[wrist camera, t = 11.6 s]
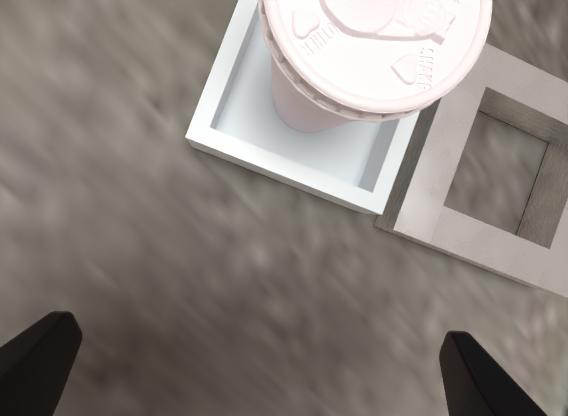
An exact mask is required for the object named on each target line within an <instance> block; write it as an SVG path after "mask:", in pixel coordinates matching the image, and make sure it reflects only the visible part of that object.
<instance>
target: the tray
mask: <svg viewBox="0 0 568 416" xmlns="http://www.w3.org/2000/svg"><path fill="white" fill-rule="evenodd" d="M419 113H420V111H418V112H416V113H414V114H412V115H410V116H408V117H406V118H401V119H395V120H390V121H384V122H378V123H376V122H366V121H352V122H349V123H345V124H342V125H338V126H335V127H331V128H328V129H325V130H321V131H318V132H312V133H305V132H300V131H297V130H294V129H292V128H291V127H289V126H288V125H286V124H285V123H284V122H283V121H282V120H281V118H280V117H279V116H278V114H277V112H276V110H275V107H274V103H273V92H272V69H271V53H270V51H269V49H268V47H267V44H266V42H265V40H264V37H263V32H262V27H261V22H260V16H259V11H258V0H239V1H238V3H237V6H236V8H235V11H234V13H233V16H232V18H231V21H230V24H229V26H228V29H227V31H226V34H225V36H224V39H223V42H222V44H221V47H220V49H219V52H218V54H217V57H216V60H215V62H214V65H213V67H212V70H211V72H210V75H209V78H208V80H207V83H206V85H205V88H204V90H203V93H202V95H201V98H200V101H199V103H198V106H197V108H196V111H195V113H194V116H193V119H192V121H191V124H190V126H189V129H188V131H187V134H186V137H185V138H186V139H187V140H188V142H189V143H190V144H191V146H192V147H193V148H196V149H198V150H201V151H203V152H206V153H208V154H211V155H213V156H216V157H219V158H221V159H224V160H226V161H229V162H231V163H234V164H236V165H239V166H241V167H244V168H247V169H249V170H252V171H254V172H257V173H259V174H262V175H264V176H267V177H270V178H272V179H275V180H277V181H280V182H282V183H285V184H287V185H290V186H292V187H295V188H298V189H300V190H303V191H305V192H308V193H310V194H313V195H315V196H318V197H320V198H323V199H326V200H328V201H331V202H333V203H336V204H338V205H341V206H343V207H346V208H348V209H351V210H354V211H356V212H359V213H365V214H377V215H382V213H383V211H384V208H385V205H386V203H387V200H388V197H389V194H390V192H391V189H392V186H393V184H394V181H395V178H396V175H397V173H398V170H399V167H400V165H401V162H402V159H403V156H404V154H405V151H406V148H407V145H408V143H409V140H410V137H411V135H412V132H413V129H414V126H415V124H416V121H417V118H418V116H419Z"/></svg>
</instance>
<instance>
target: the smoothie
mask: <svg viewBox="0 0 568 416" xmlns="http://www.w3.org/2000/svg"><path fill="white" fill-rule="evenodd" d="M258 11H259V16H260V22H261V27H262V32H263V37H264V40H265V42H266V44H267V47H268V49H269V51H270V53H271V69H272V92H273V103H274V107H275V110H276V112H277V114H278V116H279V117H280V118H281V120H282V121H283V122H284V123H285V124H286V125H288V126H289V127H291V128H292V129H294V130H297V131H300V132H305V133H312V132H318V131H321V130H325V129H328V128H331V127H335V126H338V125H342V124H345V123H349V122H352V121H366V122H376V123H378V122H384V121H390V120H395V119H401V118H406V117H408V116H410V115H412V114H414V113H416V112H418V111H420V110H422V109H424V108H426V107H428V106H430V105H431V104H432V103H433V102H434V101H436V100H437V99H439V98H440V97H442V96H444V95H445V94H447V93H448V92H449V91H450V90H452V89H453V88H454V87H455V86H456V85H457V84H458V83H459V82H460V81H461V80H462V79H463V78H464V77H465V76H466V75H467V73H468V72H469V71H470V70H471V68H472V67H473V65H474V64H475V62H476V60H477V58H478V56H479V55H480V53H481V51H482V48H483V46H484V43H485V41H486V37H487V34H488V31H489V26H490V21H491V13H492V0H258Z"/></svg>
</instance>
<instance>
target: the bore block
mask: <svg viewBox="0 0 568 416" xmlns="http://www.w3.org/2000/svg"><path fill="white" fill-rule="evenodd" d="M477 110H479V111H481V112H483V113H485V114H488V115H490V116H492V117H494V118H496V119H499V120H501V121H503V122H505V123H507V124H509V125H512V126H514V127H516V128H518V129H520V130H523V131H525V132H527V133H529V134H531V135H534V136H536V137H538V138H540V139H542V140H544V141H547V142H549V144H548V147H547V150H546V153H545V156H544V158H543V161H542V164H541V167H540V170H539V172H538V175H537V178H536V181H535V184H534V187H533V189H532V192H531V195H530V198H529V201H528V204H527V206H526V209H525V212H524V215H523V218H522V220H521V223H520V226H519V229H518V232H517V235H513V234H511V233H508V232H506V231H503V230H501V229H499V228H496V227H494V226H491V225H489V224H486V223H484V222H481V221H479V220H477V219H474V218H472V217H469V216H467V215H464V214H462V213H459V212H457V211H455V210H452V209H450V208H447V207H445V206H443V204H444V201H445V198H446V196H447V193H448V190H449V187H450V185H451V182H452V179H453V176H454V173H455V171H456V168H457V165H458V162H459V160H460V157H461V154H462V151H463V149H464V146H465V143H466V140H467V138H468V135H469V132H470V129H471V127H472V124H473V121H474V118H475V116H476V113H477ZM374 226H375V227H377V228H380V229H382V230H385V231H387V232H390V233H393V234H395V235H398V236H400V237H403V238H405V239H408V240H411V241H413V242H416V243H418V244H421V245H423V246H426V247H429V248H431V249H434V250H436V251H439V252H441V253H444V254H447V255H449V256H452V257H454V258H457V259H459V260H462V261H465V262H467V263H470V264H472V265H475V266H477V267H480V268H483V269H485V270H488V271H490V272H493V273H495V274H498V275H501V276H503V277H506V278H508V279H511V280H513V281H516V282H518V283H521V284H524V285H526V286H529V287H532V288H535V289H539V290H542V291H546V292H549V293H553V294H556V295H559V296H563V297H566V298H568V83H567V82H565V81H563V80H561V79H559V78H557V77H555V76H553V75H551V74H548V73H546V72H544V71H542V70H540V69H538V68H536V67H534V66H532V65H530V64H528V63H526V62H524V61H522V60H520V59H518V58H516V57H514V56H512V55H510V54H507V53H505V52H503V51H501V50H499V49H497V48H495V47H493V46H491V45H489V44H487V43H484V46H483V48H482V51H481V53H480V55H479V56H478V58H477V60H476V62H475V64H474V65H473V67H472V68H471V70H470V71H469V72H468V73H467V75H466V76H465V77H464V78H463V79H462V80H461V81H460V82H459V83H458V84H457V85H456V86H455V87H454V88H453V89H452V90H450V91H449V92H448V93H447V94H445V95H444V96H442V97H440V98H439V99H437V100H436V101H434V102H433V103H432V104H431V105H430V106H428V107H426V108H424V109H422V110H420V113H419V116H418V118H417V121H416V124H415V126H414V129H413V132H412V135H411V137H410V140H409V143H408V145H407V148H406V151H405V154H404V156H403V159H402V162H401V165H400V167H399V170H398V173H397V175H396V178H395V181H394V184H393V186H392V189H391V192H390V194H389V197H388V200H387V203H386V205H385V208H384V211H383V213H382V215H378V216H377V218H376V221H375V224H374Z"/></svg>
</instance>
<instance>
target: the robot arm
mask: <svg viewBox="0 0 568 416" xmlns="http://www.w3.org/2000/svg"><path fill="white" fill-rule="evenodd" d="M81 341H82V331H81V329H80V327H79V325H78V323H77V321H76V319H75V317H74V315H73V314H72V313H71V312H68V311H53V312H51V313H49V314H48V315H46V316H45V317H43V318H42V319H40V320H39V321H37V322H36V323H35V324H33V325H32V326H30V327H29V328H27V329H26V330H25V331H23V332H22V333H20V334H19V335H17V336H16V337H15V338H13V339H12V340H10V341H9V342H7V343H6V344H4V345H3V346H2V347H0V416H52V415H53V413H54V411H55V409H56V407H57V405H58V402H59V400H60V397H61V395H62V392H63V390H64V387H65V384H66V382H67V379H68V376H69V374H70V371H71V368H72V366H73V363H74V360H75V358H76V355H77V352H78V350H79V347H80V344H81ZM439 361H440V367H441V372H442V378H443V383H444V389H445V395H446V400H447V406H448V411H449V416H547V415H546V414H545V413H544V411H543V410H542V409H541V408H540V407H539V406H538V405H537V404H536V403H535V402H534V401H533V400H532V399H531V398H530V397H529V396H528V395H527V394H526V392H525V391H524V390H523V389H522V388H521V387H520V386H519V385H518V384H517V383H516V382H515V381H514V380H513V379H512V378H511V377H510V376H509V375H508V374H507V372H506V371H505V370H504V369H503V368H502V367H501V366H500V365H499V364H498V363H497V362H496V361H495V360H494V359H493V358H492V357H491V356H490V355H489V354H488V352H487V351H486V350H485V349H484V348H483V347H482V346H481V345H480V344H479V343H478V342H477V341H476V340H475V339H474V338H473V337H472V336H471V335H470V334H469V333H468V332H465V331H449V332H447V334H446V336H445V339H444V342H443V344H442V347H441V350H440V354H439Z"/></svg>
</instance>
